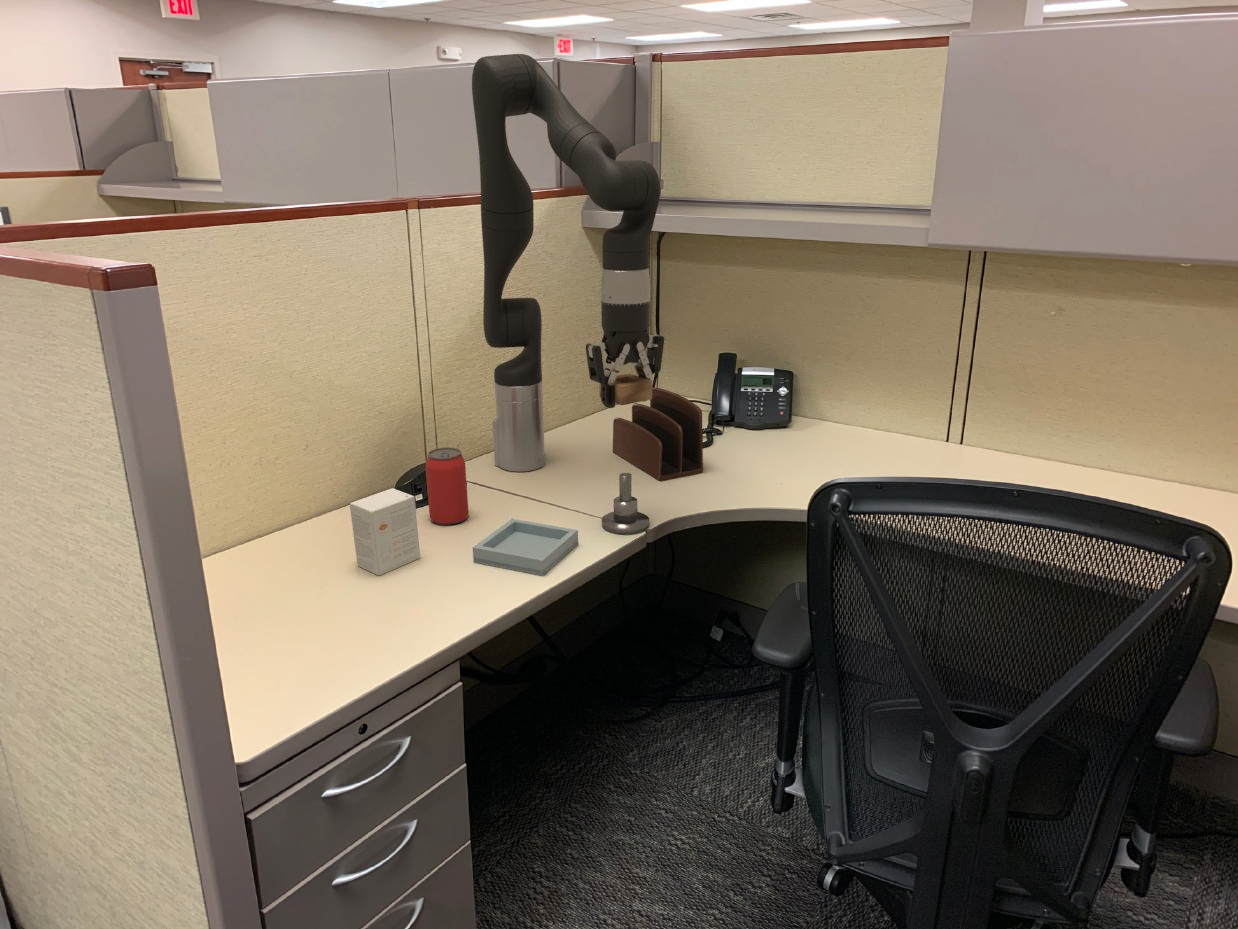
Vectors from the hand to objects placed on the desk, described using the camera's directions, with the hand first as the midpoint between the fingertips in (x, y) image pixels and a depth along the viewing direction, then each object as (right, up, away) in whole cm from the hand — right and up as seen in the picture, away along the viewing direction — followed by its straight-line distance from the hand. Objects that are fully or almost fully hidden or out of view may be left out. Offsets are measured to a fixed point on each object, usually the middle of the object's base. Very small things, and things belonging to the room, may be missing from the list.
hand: (625, 403), depth 139 cm
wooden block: (0, +1, 0) cm, 1 cm away
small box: (-36, -25, -6) cm, 45 cm away
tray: (-16, -24, -3) cm, 29 cm away
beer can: (-30, -19, +10) cm, 37 cm away
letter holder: (+6, -10, +37) cm, 39 cm away
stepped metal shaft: (0, -20, +7) cm, 21 cm away
